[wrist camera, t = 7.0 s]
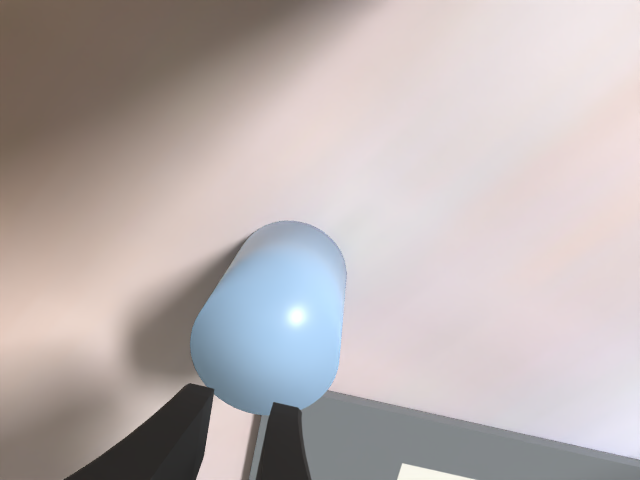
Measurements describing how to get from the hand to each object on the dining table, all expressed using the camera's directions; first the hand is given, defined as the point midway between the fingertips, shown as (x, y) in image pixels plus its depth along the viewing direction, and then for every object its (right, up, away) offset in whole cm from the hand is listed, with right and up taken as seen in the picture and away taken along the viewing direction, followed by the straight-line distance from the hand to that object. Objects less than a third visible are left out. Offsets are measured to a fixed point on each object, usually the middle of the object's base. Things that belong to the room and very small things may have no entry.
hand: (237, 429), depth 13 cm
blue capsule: (+1, +3, +9) cm, 9 cm away
